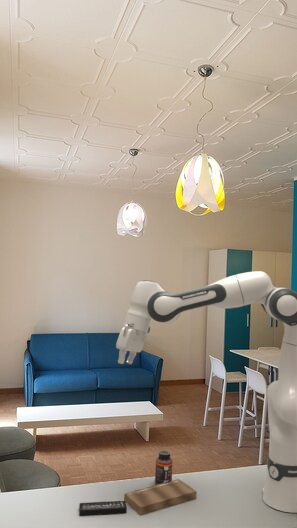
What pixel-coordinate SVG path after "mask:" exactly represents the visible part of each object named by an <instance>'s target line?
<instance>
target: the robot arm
mask: <svg viewBox="0 0 297 528" xmlns="http://www.w3.org/2000/svg"><path fill="white" fill-rule="evenodd" d="M272 283H273V282H272V279H271V277H270V276H269V275H268V274H267V273H266V272H264V271H261V270H257V271H247V272H242V273H237V274H233V275H230V276H225V277H224V278H221V279H219V280H217V281H214V282H212V283H210V284H208V285H205V286H202V287H198V288H194V289H189V290H186V291H180V292H171V291H165V290H164V289H163V288H162V287H161V286H160V284H159V282H157V281H153V280H141V281H138V282H137V283H136V285H135V287H134V289H133V292H132V294H131V296H130V300H129V308H128V310H127V311H126V314H125V317H124V320H123V324H122V326H123V327H122V328H121V329H120V332H119V335H118V338H117V340H116V344H115V348H116V349H118V350H119V352H118V360H117V363H118V364H121V365H124V364H125V362H126V364H129V365H132V364H133V361H134V359H135V357H136V356H137V353H141V352H142V351H143V348H144V346H145V343H146V340H147V339H148V338H147V337H148V335H149V334H150V332H151V326H150V325H151V319H153V321H156V322H158V323H163V324H172V323H174V322H176V321H177V320H178V319H179V318H180V315H181V313H183V312H188V311H190V310H194V309H199V308H203V307H217V308H220V309H235V308H241V307H244V306H249V305H252V304H260V306H261V307H262V308H263V310H264V311H265V313H266V314H267V315H268V316H269V317H270V318H272V319H274V320H276V321H280V322H282V323H283V326H284V327H283V329H284V333H283V336H282V340H281V346H280V351H279V356H278V362H277V366H278V370H277V371H278V375H277V376H278V377H277V380H275V381H272V382H271V383H270V384H269V385H268V387H267V389H266V398H267V399H266V402H267V413H268V414H267V418H268V426H269V427H268V428H269V429H268V430H269V441H268V442H269V445H268V447H269V448H268V456H267V460H266V463H267V465H266V466H267V469H266V471H265V478H264V486H263V487H262V489H261V492H262V500H263V502H264V503H265V505H267V506H268V507H271V508H272V509H274V510H278V511H281V512H285V513H292V514H293V513H294V514H297V292H296V291H295V290H293V289H291V288H287V287H276V286H274V284H272ZM127 352H129V354H128V357H127V358H126V354H127ZM125 360H126V361H125Z"/></svg>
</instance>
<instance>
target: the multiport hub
mask: <svg viewBox="0 0 297 528" xmlns="http://www.w3.org/2000/svg"><path fill="white" fill-rule="evenodd" d="M78 506H79V508H78V512H79V517H88V516H89V517H90V516H91V517H92V516H109V515H111V516H112V515H125V514H127V509H128V508H127V507H128V506H127V503H126V502H125V501H124V500H114V501H113V500H112V501H93V502H91V501H90V502H79V505H78Z"/></svg>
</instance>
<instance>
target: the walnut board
mask: <svg viewBox="0 0 297 528" xmlns="http://www.w3.org/2000/svg"><path fill="white" fill-rule="evenodd" d="M123 496H124V498H123V499H124V500H123V501H125V502H126V505H128V506H129V507H130V508H131V509H133V510H134V512H135V513H136V514H138V515H139V516H143V515H147V514H150V513H154V512H157V511H160V510H163V509H167V508H170V507H173V506H176V505H177V506H178V505H179V504H183V503H186V502H190V501H192V500H196V499H197V490H196V489H194V488H193V487H191V486H190V485H188V484H187V483H185V482H183V481H182V480H180V479H177V478H176V479H172V481H169V482H166V483H162V484H158V485H156V484H155V485H151V486H147V487H144V488H140V489H139V488H138V489H134V490H132V491H127V492H124V495H123Z"/></svg>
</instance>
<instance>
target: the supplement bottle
mask: <svg viewBox="0 0 297 528" xmlns="http://www.w3.org/2000/svg"><path fill="white" fill-rule="evenodd" d="M173 463H174V462H173V458H171V451H169V450H160V451H159V452H158V457H156V460H155V474H154V477H155V478H154V483H155V485H158V484H162V483H166V482H169V481H173V479H172V478H173Z"/></svg>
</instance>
